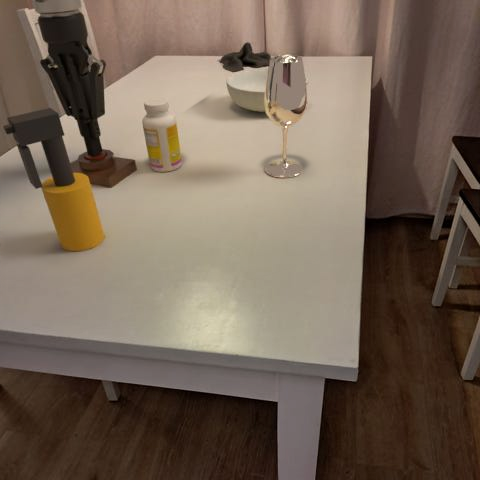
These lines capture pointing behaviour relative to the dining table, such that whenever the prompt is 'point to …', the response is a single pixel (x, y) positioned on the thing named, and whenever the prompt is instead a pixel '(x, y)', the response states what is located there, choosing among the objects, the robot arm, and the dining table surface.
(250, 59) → the cloth
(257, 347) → the dining table surface
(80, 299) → the dining table surface
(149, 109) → the supplement bottle
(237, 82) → the serving bowl
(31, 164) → the trigger
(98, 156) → the button
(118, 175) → the button block
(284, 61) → the wineglass
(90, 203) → the spray bottle
